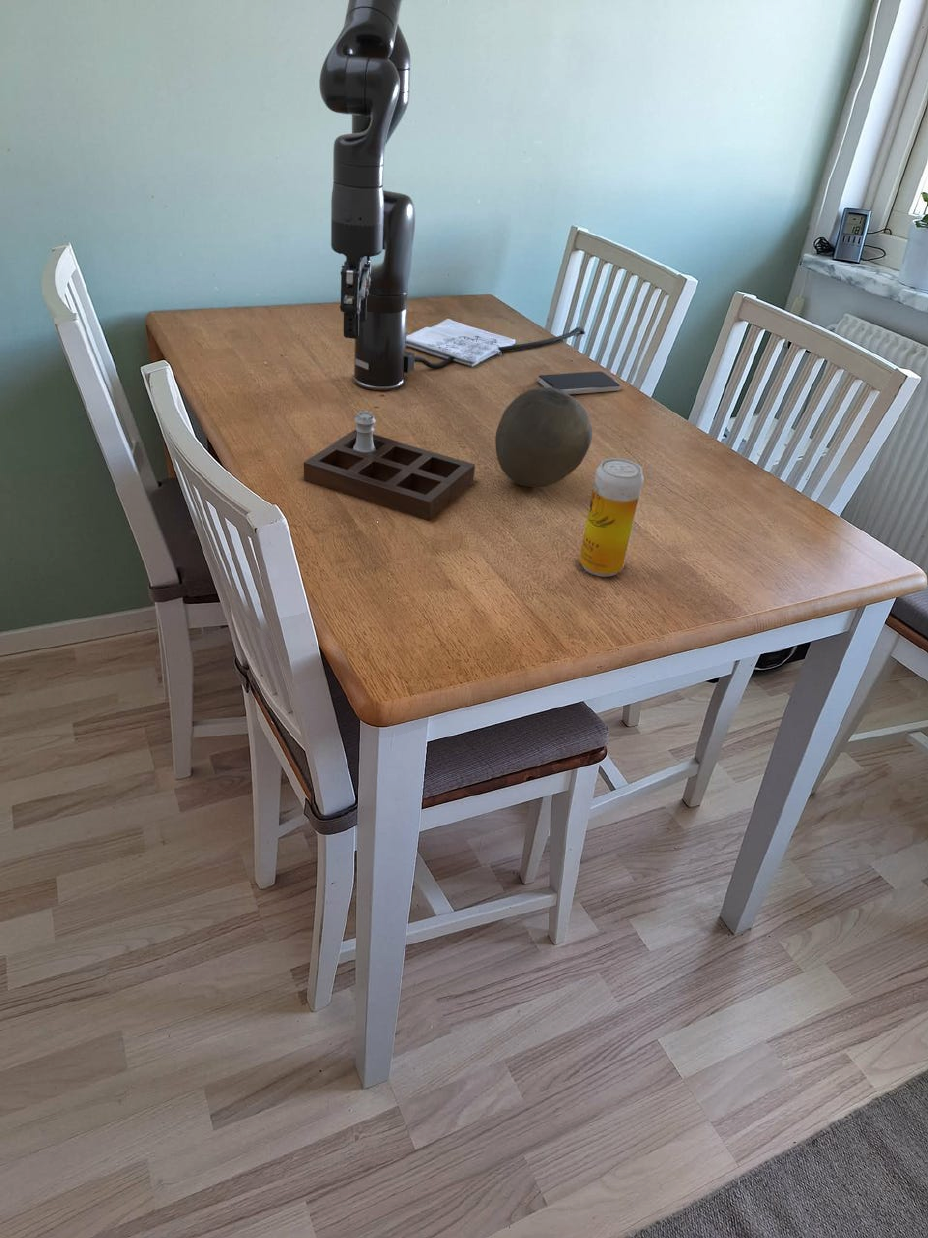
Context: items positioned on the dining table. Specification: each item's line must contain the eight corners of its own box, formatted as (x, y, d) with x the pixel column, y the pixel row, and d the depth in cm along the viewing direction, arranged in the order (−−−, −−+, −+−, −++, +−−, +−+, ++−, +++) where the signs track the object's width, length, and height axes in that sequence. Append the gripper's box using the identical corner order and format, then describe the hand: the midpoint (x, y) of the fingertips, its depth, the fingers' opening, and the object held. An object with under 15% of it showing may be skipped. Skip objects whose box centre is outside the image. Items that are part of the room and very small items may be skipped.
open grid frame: (355, 445, 146) (355, 428, 144) (473, 481, 139) (475, 464, 137) (303, 480, 135) (303, 461, 133) (428, 520, 128) (430, 502, 126)
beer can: (574, 554, 124) (593, 455, 115) (617, 555, 125) (639, 457, 116) (582, 578, 119) (603, 476, 110) (627, 579, 120) (650, 479, 111)
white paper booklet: (395, 345, 187) (396, 334, 185) (448, 323, 201) (448, 314, 200) (473, 369, 179) (474, 358, 178) (521, 345, 194) (522, 335, 192)
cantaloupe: (519, 510, 133) (533, 415, 124) (475, 469, 143) (485, 378, 134) (597, 496, 139) (615, 405, 130) (550, 458, 149) (564, 370, 140)
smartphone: (622, 385, 176) (556, 390, 170) (621, 391, 177) (555, 396, 171) (601, 370, 182) (537, 374, 176) (600, 376, 183) (536, 380, 177)
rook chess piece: (373, 470, 139) (375, 422, 135) (346, 465, 140) (346, 417, 135) (381, 458, 143) (383, 411, 138) (354, 453, 143) (355, 406, 139)
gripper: (377, 230, 123) (373, 346, 133) (388, 209, 135) (384, 317, 144) (323, 224, 123) (323, 341, 133) (339, 204, 135) (338, 312, 144)
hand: (355, 328), depth 139 cm, fingers open, 8 cm apart
